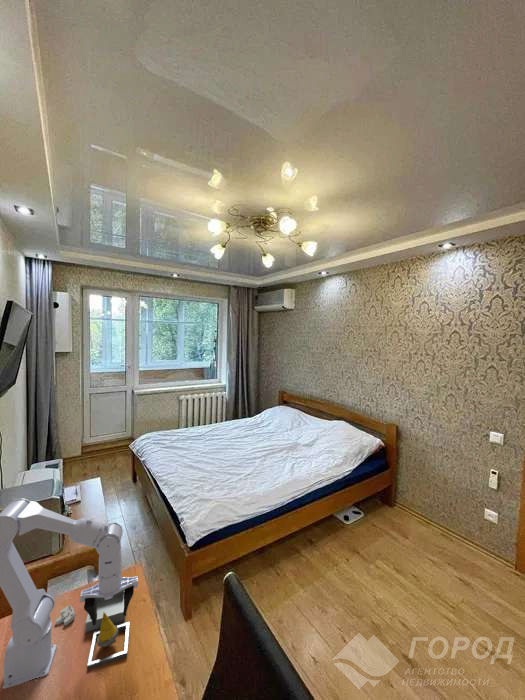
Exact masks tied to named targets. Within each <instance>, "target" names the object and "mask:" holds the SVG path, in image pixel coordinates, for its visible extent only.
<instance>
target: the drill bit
mask: <svg viewBox="0 0 525 700" xmlns="http://www.w3.org/2000/svg"><path fill="white" fill-rule="evenodd" d="M99 631H100V634H99V636H98V638H96V643H97V646H98V647H99V648H104V647H106V646H107V647H109V648H111V647H110V646H111V645H113V644H114V643H116V642H117V641H116V638H117V637H118V635H119V632H118V627H117V625H114V624H113V623H112V622H111V620H110V619H109V618H108V616H107V615H106V614H105V613H103V618H102V623H101V628H100V630H99Z"/></svg>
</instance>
